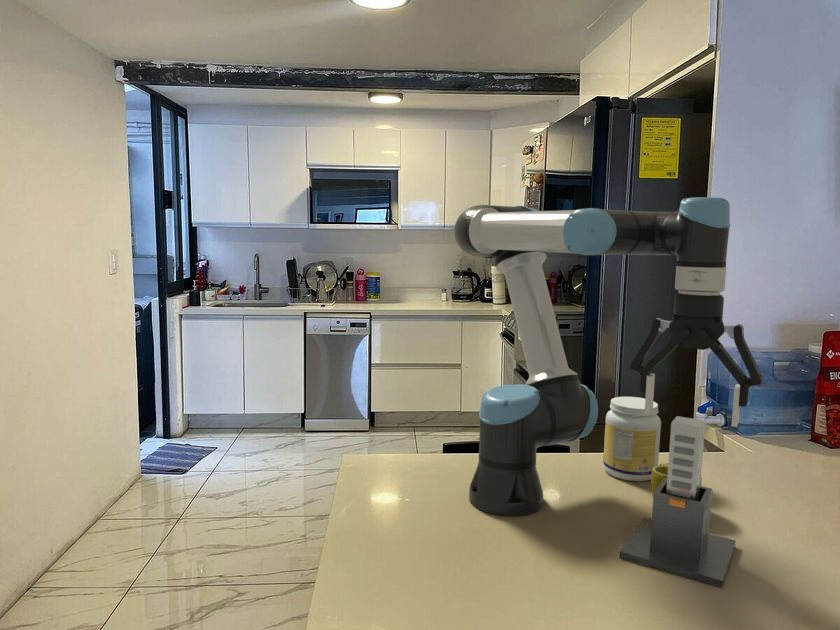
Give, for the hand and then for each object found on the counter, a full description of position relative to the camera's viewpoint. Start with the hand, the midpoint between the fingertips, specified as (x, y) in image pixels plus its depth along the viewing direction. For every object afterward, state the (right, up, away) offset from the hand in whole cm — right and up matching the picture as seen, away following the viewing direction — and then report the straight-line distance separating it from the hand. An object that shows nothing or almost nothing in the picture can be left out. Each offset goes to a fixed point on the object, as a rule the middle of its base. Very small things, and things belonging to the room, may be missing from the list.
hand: (690, 418), depth 106 cm
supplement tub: (+3, -20, +40) cm, 45 cm away
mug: (+6, -22, +23) cm, 32 cm away
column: (-1, -22, +3) cm, 23 cm away
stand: (-1, -24, +3) cm, 24 cm away
